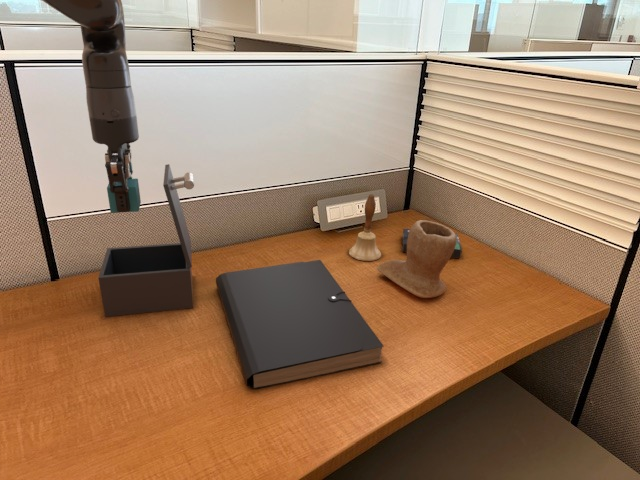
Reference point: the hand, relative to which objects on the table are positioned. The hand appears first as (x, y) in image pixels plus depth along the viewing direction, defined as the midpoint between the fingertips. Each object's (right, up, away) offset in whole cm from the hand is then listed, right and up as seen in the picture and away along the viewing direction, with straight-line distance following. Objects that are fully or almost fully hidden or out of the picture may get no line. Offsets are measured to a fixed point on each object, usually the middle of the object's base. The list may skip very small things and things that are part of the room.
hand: (125, 205), depth 89 cm
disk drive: (+66, -9, +38) cm, 76 cm away
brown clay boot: (+58, -17, +21) cm, 64 cm away
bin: (+1, -18, +11) cm, 21 cm away
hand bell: (+48, -10, +33) cm, 59 cm away
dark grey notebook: (+30, -23, +5) cm, 38 cm away
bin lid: (+8, -2, +5) cm, 10 cm away
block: (0, 0, 0) cm, 0 cm away
